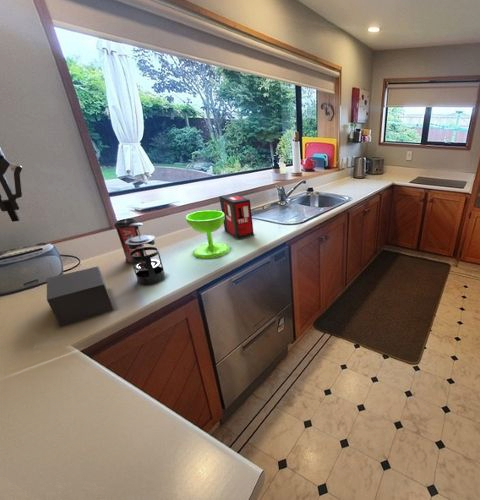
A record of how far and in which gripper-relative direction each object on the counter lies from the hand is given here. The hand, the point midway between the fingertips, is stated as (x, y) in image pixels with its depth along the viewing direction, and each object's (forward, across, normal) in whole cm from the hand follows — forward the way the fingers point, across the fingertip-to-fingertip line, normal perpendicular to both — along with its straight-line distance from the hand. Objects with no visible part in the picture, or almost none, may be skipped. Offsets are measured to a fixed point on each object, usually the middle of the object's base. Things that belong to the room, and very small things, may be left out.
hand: (15, 220), depth 90 cm
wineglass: (+27, -56, +3) cm, 62 cm away
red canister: (+27, -28, -8) cm, 39 cm away
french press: (+27, -29, +14) cm, 42 cm away
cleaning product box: (+27, -76, -12) cm, 81 cm away
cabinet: (+26, -9, +21) cm, 35 cm away
